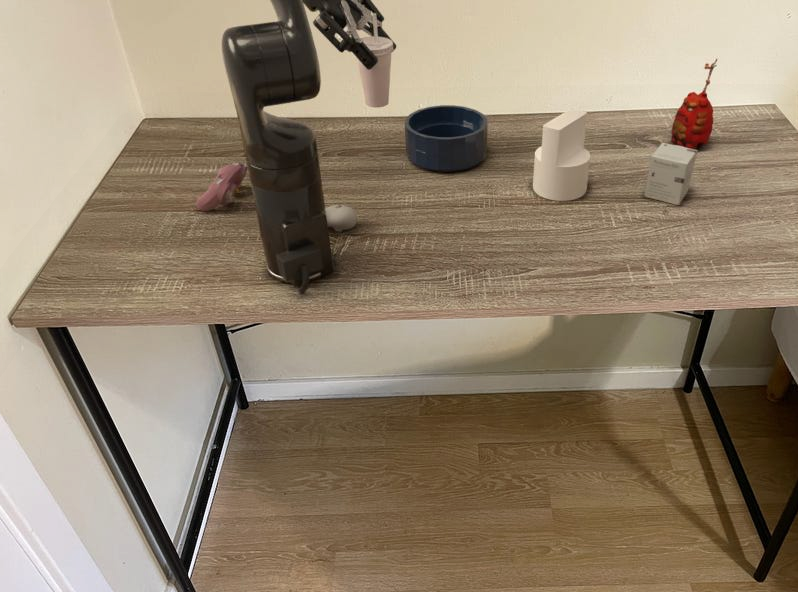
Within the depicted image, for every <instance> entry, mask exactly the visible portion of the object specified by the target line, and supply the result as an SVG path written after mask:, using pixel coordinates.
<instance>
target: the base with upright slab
mask: <svg viewBox="0 0 798 592" xmlns="http://www.w3.org/2000/svg"><path fill="white" fill-rule="evenodd" d="M587 122H588V112H587V111H585V110H582V109H580V108H579V109H578V108H573V107H570V108H569V109H568V110H565V111H564V112H563V113H561V114H559V115H557V116H556V117H554V118H552V119H550V120H549V121H547V122H546V123H544V124H543V125H542V138H541V146H539V147H538V148H536V149H535V152H534V161H533V175H532V176H533V177H532V189H533V191H534V193H535V194H536V195H538V196H539V197H541V198H544V199H546V200H550V201H557V202H567V201H573V200H578V199H580V198H581V197H583V196H584V195H585V194H586V193H587V189H588V181H589V171H590V162H591V153H590V152H589V150H588V149H587V148H585V139H586V138H585V137H586V131H587V130H586V129H587Z"/></svg>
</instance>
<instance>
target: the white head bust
mask: <svg viewBox="0 0 798 592" xmlns="http://www.w3.org/2000/svg"><path fill="white" fill-rule="evenodd" d="M325 210H326V216H327V224H328V228H333V230H334V231H336V232H339V233H341V232H343V230H346V231H347V230H351V229H353V228H354V227H355V226H356V225H357V223H358V215H357V214H358V213H357V212H356V210H355V209H354V208H353V207H351V206H347V205H342V204H333V205H329V206H327V207H325Z"/></svg>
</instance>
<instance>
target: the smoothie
mask: <svg viewBox="0 0 798 592" xmlns="http://www.w3.org/2000/svg"><path fill="white" fill-rule="evenodd" d="M372 16H373V26H374V37H373V36H365V37H361V38H360V37H359V38H360V40H361V42H362V41H363V42H364V44H365V45H366V46H367V47H368V48H369V49H370V51H371V52H372V53H373V54H374V55H375V56H376V58H377V59H378V62H377V64H376V65H375V66H374V67H373V68H372V69H370V70H368V69H367V68H366V67H365V66H364V65H363V64H362V63H361V62H360V61H359V59H358V58H357V57H356V61H357V66H358V67H357V68H358V71H359V77H360V79H361V80H360V81H361V86H362V90H363V91H362V92H363V95H364V100H365V105H366V106H367V107H370V108H375V109H376V108H378V109H379V108H384V107H386V106H388V105H389V101H390V84H391V70H392V69H391V67H392V65H391V64H392V53H393V52H394V51H393V49H394V48H393V42H394V41H393V40H392V41H393V42H392V41H391V40H390V39H388V38H384V37H378V32H377V18H376V13H372ZM361 42H360V43H361ZM392 51H393V52H392ZM391 52H392V53H391Z"/></svg>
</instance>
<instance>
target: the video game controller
mask: <svg viewBox="0 0 798 592" xmlns="http://www.w3.org/2000/svg"><path fill="white" fill-rule="evenodd" d="M247 172H248V167H247V165H244V164H242V163H240V162H236V161H234V160H233V161H232V162H231V163H230V164H227V165H224V166H223V167H221V168H219V170H218V172H217V175H216V177H215V178H214V179H213V181H212V182H211V184H210V185H209V187H208V189H207V190H206V191H205V192H204V193H202V195H200V196H199V197H198V198H197V200H196V203H195V204H196V208H197V209H198V210H200V211H201V212H209V211H212V210H214V209H215V208H217V207H218V206H219V205H222V206H223V207H224V206H226V205H227V204H228V202H229V200H230V198H232V197H234V196H235V195H236V194H238V193H239V191H240V189H239V188H240V186H241V184H242V183H243V181H244V179H245V177H246V175H247Z"/></svg>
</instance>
